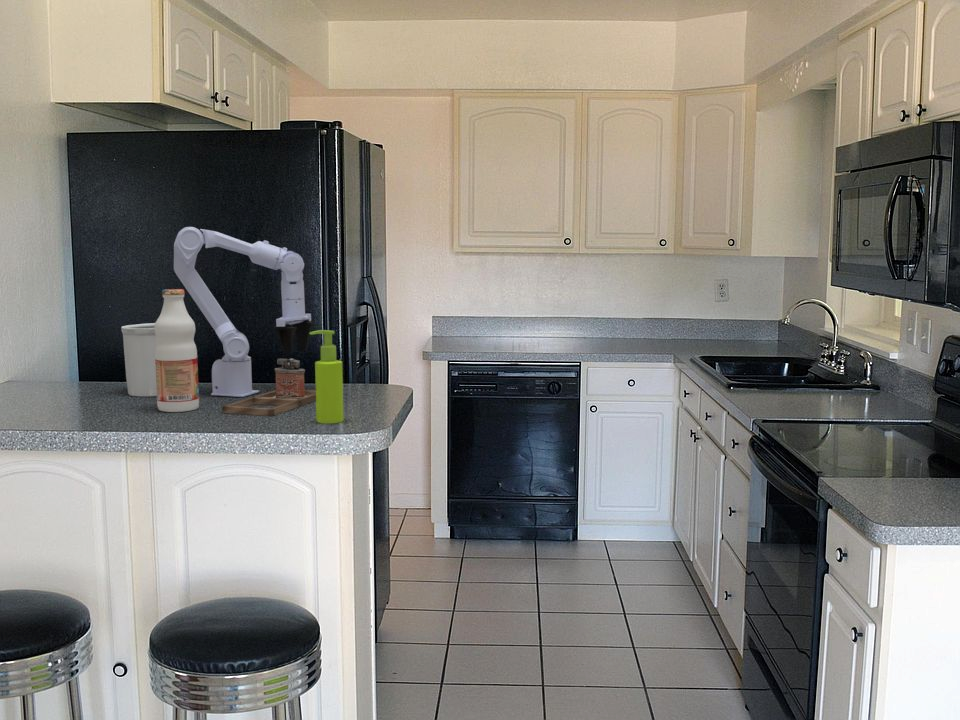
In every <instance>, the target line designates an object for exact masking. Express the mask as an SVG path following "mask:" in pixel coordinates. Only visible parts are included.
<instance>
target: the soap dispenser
mask: <svg viewBox="0 0 960 720" xmlns="http://www.w3.org/2000/svg"><path fill="white" fill-rule="evenodd" d="M309 334H310V336H312V335H319V334H322V335H323V341H324V343H323V344H322V345H320V360H317V361H315V362H314V371H315V372H314V373H315V374H314V375H315V378H314V380H315V391H316V401H315V411H316V412H315V413H316V415H315V416H316V419H315V420H316V422H317V423H319V424H338V423H341V422H344V381H343V378H344V377H343V373H344V372H343V361H342V360H338V359H337V346H336V345H335V344H333V335H335V330H333V329H332V330H330V329H329V330H327V329H319V330H314V331H311V332H310V333H309Z"/></svg>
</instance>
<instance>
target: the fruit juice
mask: <svg viewBox="0 0 960 720" xmlns="http://www.w3.org/2000/svg"><path fill="white" fill-rule="evenodd" d="M161 293H162V298H163V305H162V308H161V312H160V315H159V316H158V318H157V319H156V321H155V322H154V323H155V328H154V330H155V335H156V338H157V344H156V347H155V365H156V387H157V396H156V405H157V409H158V411H160V412H163V413H166V412H167V413H183V412H191V411H193V410H194V411H195V410H197V409H199V406H200V393H199V390H200V389H199V367H198V349H197V345H196V343H195V340H194V339H195V334H196V323H195V321H194V319H192V317H191V316H190V315H189V312H188V310H187V308H186V305H185V301H184V298H185V290H184V289H182V288H181V289H180V288H177V289H175V288H171V289H162V292H161Z"/></svg>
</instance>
